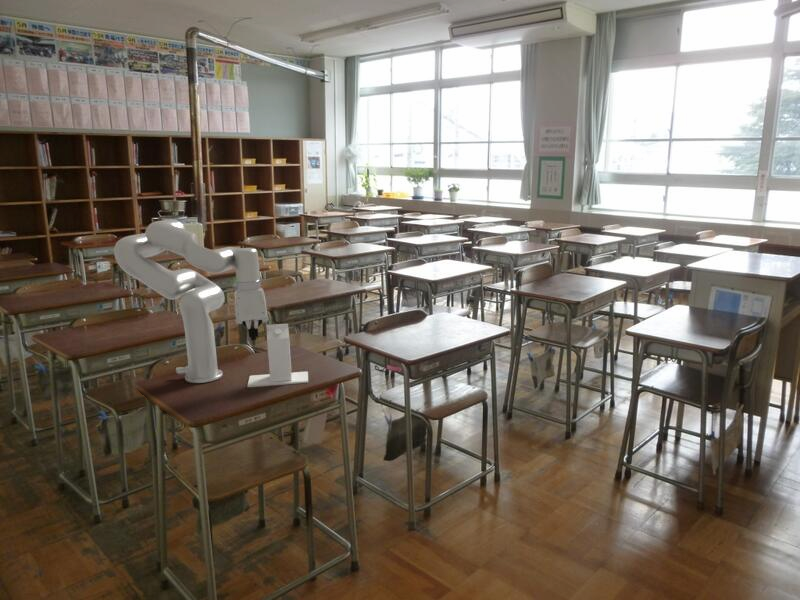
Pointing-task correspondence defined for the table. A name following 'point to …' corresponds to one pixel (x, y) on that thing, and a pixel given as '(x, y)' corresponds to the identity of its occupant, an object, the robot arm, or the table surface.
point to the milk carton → (279, 352)
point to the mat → (265, 381)
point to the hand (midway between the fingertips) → (254, 339)
